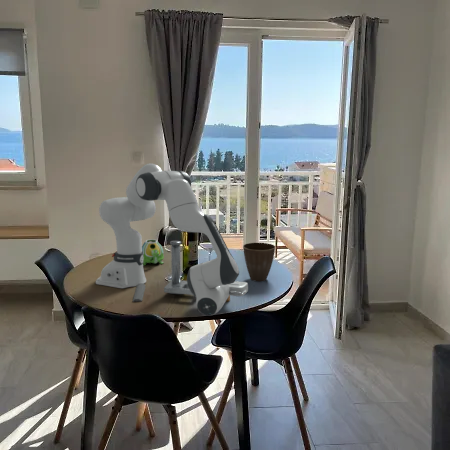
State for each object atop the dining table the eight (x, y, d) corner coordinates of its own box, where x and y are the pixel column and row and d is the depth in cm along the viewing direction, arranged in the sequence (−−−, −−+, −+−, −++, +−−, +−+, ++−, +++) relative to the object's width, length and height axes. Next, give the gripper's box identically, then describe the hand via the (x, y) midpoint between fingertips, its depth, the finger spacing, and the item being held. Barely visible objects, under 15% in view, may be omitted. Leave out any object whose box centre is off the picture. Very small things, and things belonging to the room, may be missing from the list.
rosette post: (163, 298, 180) (163, 245, 176) (172, 289, 190) (172, 240, 186) (197, 301, 177) (197, 248, 173) (204, 292, 187) (204, 242, 183)
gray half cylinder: (131, 303, 176) (131, 298, 175) (136, 287, 195) (136, 283, 194) (142, 302, 176) (142, 298, 176) (146, 287, 195) (145, 283, 195)
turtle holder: (143, 269, 220) (143, 246, 218) (138, 260, 237) (138, 238, 234) (168, 267, 224) (167, 244, 222) (161, 258, 241) (160, 237, 238)
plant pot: (272, 285, 198) (273, 250, 195) (240, 283, 200) (240, 249, 197) (275, 275, 212) (276, 243, 209) (245, 273, 215) (245, 241, 212)
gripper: (245, 286, 162) (251, 275, 175) (192, 281, 166) (201, 271, 179) (244, 302, 163) (251, 290, 176) (192, 297, 167) (201, 286, 180)
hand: (225, 280), depth 178 cm, fingers closed on wedge pin, 4 cm apart
